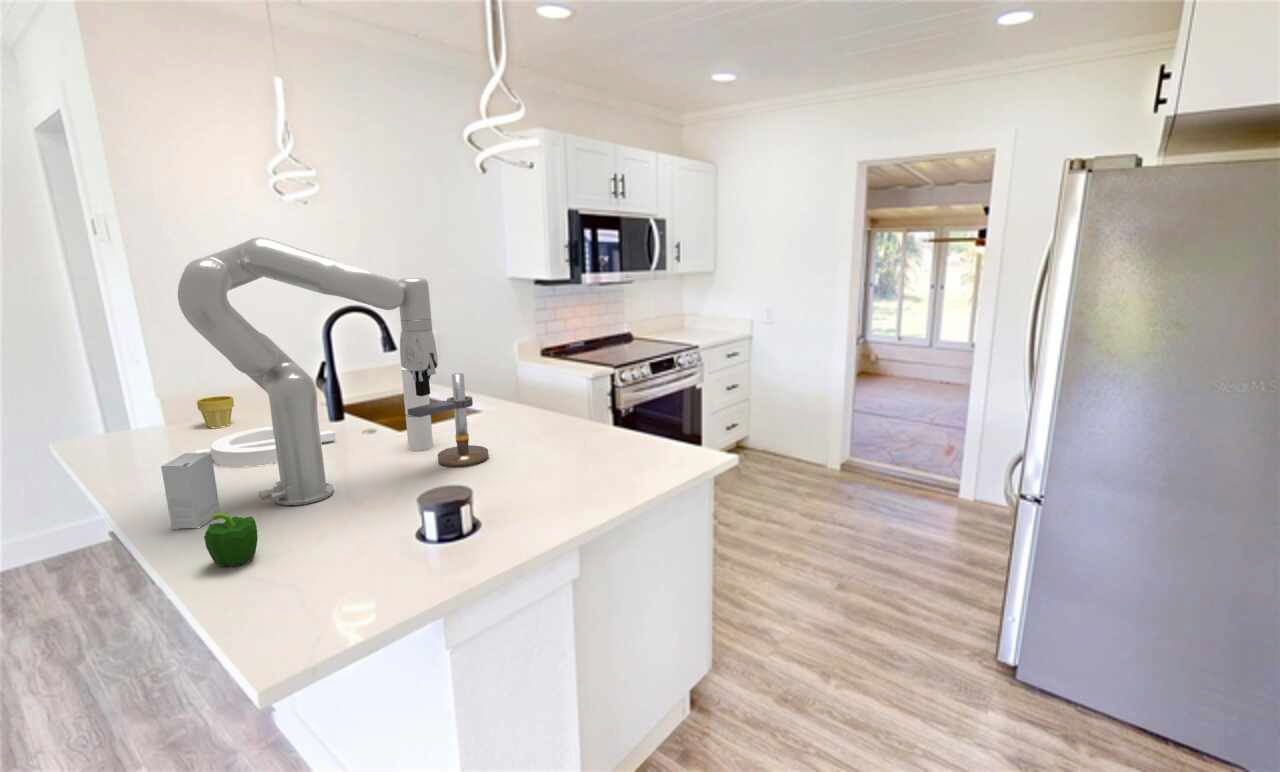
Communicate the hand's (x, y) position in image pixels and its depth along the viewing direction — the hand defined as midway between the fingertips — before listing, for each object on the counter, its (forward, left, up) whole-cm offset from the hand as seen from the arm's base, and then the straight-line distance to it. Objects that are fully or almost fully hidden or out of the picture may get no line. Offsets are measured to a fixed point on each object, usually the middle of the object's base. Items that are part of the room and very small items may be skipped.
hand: (423, 394), depth 159 cm
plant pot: (-12, +101, -22) cm, 104 cm away
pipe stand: (+12, 0, -21) cm, 24 cm away
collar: (+6, 0, -5) cm, 8 cm away
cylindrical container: (+12, +20, -22) cm, 32 cm away
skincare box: (-49, +15, -22) cm, 56 cm away
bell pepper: (-52, -12, -22) cm, 58 cm away
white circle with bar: (-16, +55, -22) cm, 62 cm away
